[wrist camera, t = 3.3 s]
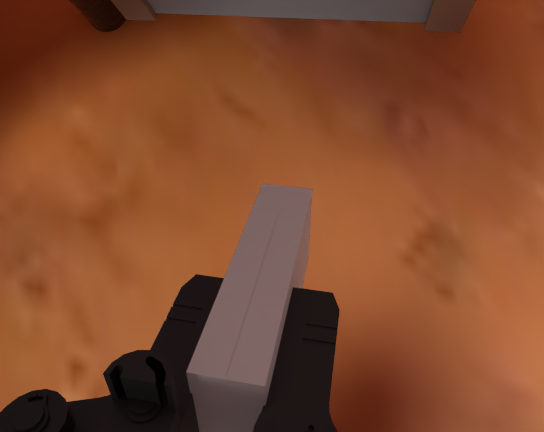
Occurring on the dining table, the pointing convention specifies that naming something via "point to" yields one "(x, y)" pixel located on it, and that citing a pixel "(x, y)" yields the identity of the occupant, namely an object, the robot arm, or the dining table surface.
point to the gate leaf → (313, 10)
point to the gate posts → (100, 13)
